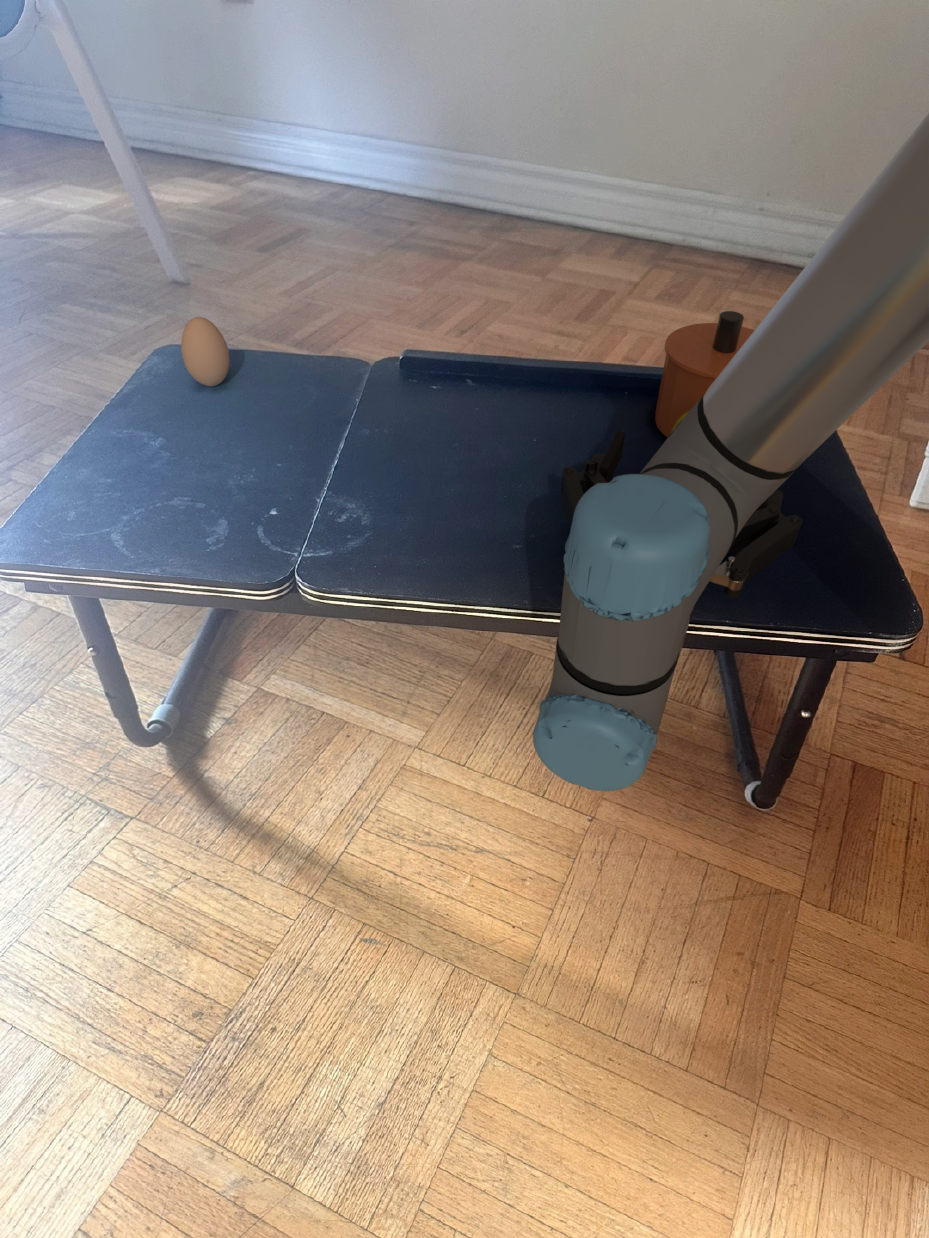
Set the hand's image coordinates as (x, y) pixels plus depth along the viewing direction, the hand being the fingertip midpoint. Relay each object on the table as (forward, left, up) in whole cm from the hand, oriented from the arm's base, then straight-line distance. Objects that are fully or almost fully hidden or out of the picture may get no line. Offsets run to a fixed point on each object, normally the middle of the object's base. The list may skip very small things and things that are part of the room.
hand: (692, 458), depth 75 cm
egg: (+55, +16, -7) cm, 58 cm away
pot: (+7, -17, -7) cm, 19 cm away
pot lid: (+7, -17, +2) cm, 18 cm away
